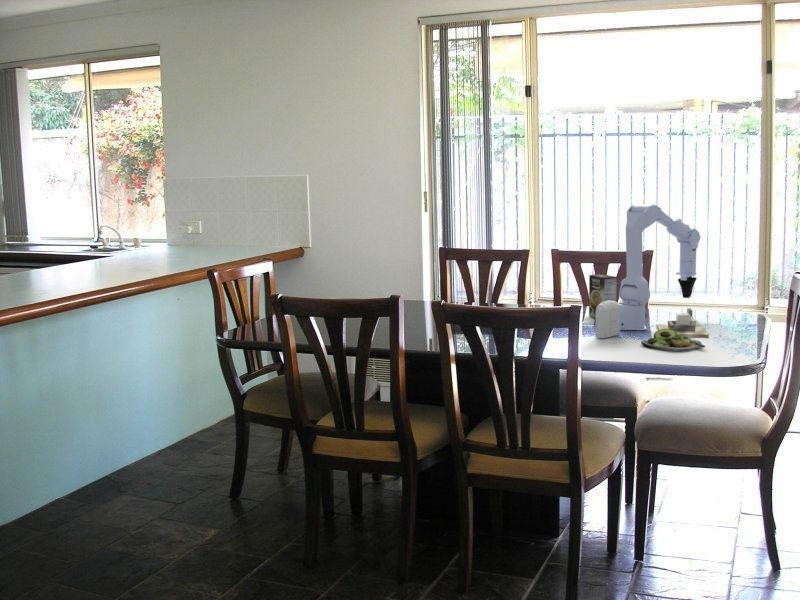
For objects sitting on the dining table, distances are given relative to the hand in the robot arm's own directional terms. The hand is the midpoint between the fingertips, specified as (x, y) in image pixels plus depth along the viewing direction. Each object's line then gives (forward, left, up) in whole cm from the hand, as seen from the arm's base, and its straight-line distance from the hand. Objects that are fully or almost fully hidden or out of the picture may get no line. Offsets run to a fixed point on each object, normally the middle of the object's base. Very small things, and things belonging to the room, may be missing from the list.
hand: (686, 297), depth 323 cm
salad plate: (-11, -46, -9) cm, 49 cm away
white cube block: (-4, -22, -7) cm, 24 cm away
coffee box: (-30, +4, -9) cm, 32 cm away
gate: (0, -13, -7) cm, 14 cm away
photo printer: (-30, -33, -9) cm, 46 cm away
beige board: (-5, -18, -8) cm, 20 cm away
